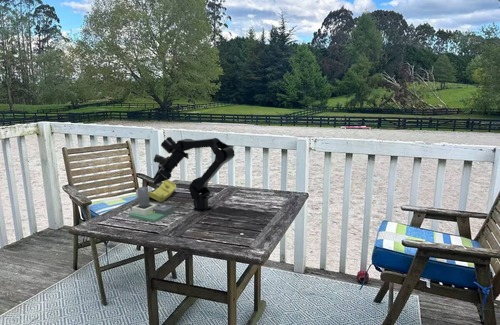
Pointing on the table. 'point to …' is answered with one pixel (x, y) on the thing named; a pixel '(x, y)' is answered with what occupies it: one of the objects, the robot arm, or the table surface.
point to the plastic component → (163, 191)
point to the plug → (143, 197)
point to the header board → (152, 212)
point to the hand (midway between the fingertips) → (153, 181)
